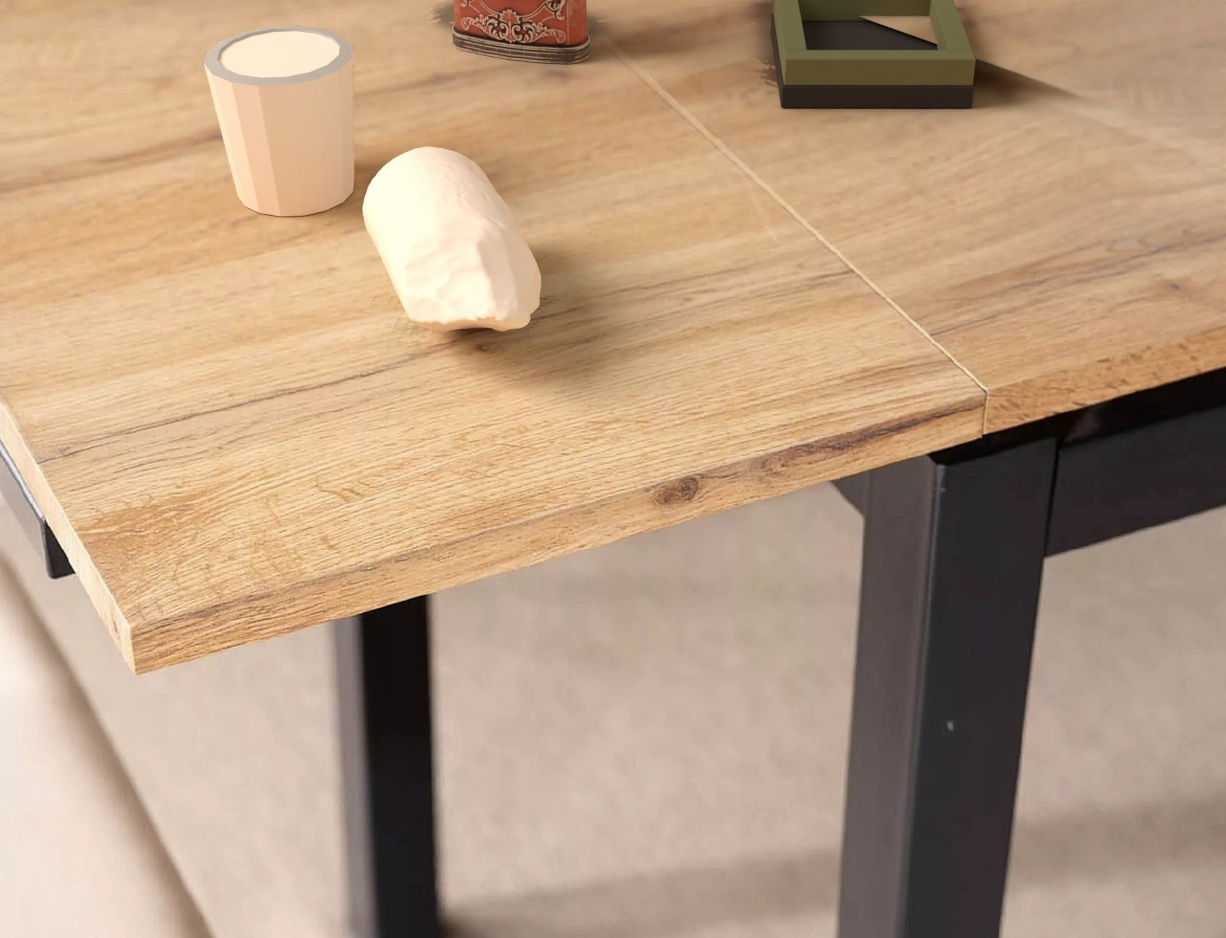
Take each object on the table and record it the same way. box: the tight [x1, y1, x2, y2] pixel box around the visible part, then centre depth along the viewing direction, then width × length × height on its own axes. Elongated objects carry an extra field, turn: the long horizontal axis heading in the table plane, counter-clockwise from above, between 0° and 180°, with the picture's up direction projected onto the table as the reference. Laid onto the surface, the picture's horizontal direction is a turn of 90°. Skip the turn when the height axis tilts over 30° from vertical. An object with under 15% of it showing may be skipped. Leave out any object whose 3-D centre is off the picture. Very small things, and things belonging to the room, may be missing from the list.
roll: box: [361, 146, 542, 333], centre depth 73 cm, size 6×12×6 cm, turn 18°
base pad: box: [769, 0, 977, 109], centre depth 95 cm, size 10×10×3 cm
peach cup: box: [203, 25, 355, 217], centre depth 82 cm, size 7×7×7 cm
